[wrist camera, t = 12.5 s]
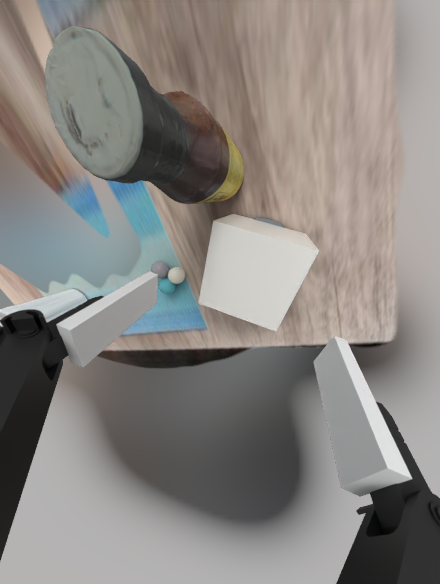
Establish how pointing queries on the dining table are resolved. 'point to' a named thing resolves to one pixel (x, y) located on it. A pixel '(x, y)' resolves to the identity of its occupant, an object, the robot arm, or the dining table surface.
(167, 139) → the sauce bottle
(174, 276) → the cream marble
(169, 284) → the teal marble
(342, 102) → the dining table surface
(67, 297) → the cup
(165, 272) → the smoky marble
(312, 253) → the white block
